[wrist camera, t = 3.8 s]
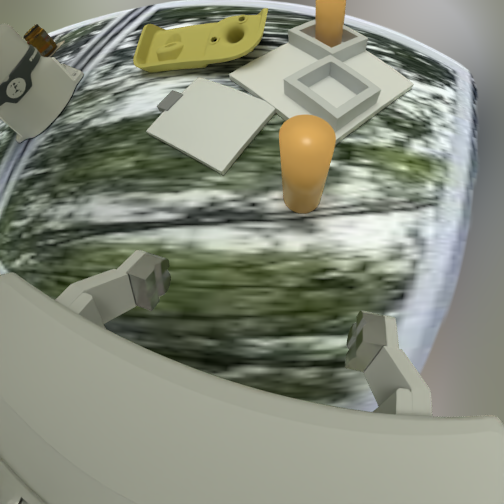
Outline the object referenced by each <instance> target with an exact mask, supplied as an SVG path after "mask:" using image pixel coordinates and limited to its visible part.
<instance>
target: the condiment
mask: <svg viewBox="0 0 504 504" xmlns="http://www.w3.org/2000/svg"><path fill="white" fill-rule="evenodd" d="M24 38H25V40H26V41H27V44H28V45H32V46H33V47H35V48H36V49H37V50H38V51H39V52H40V54H41V56H43V57H51V56H52V55H53V54H54V53H55V51H56V50H57V49H58V48H59V47H60V46H61V45H62V44H63V42H64V41H63V42H60V43H58V44H55V42H54V41H53V40H52V39H51V37H50V36H49V35H48V34H47V33H46V31H45V30H44V29H42V28H40V27H39V26H38V25H35V26H33V27H32V28H31V29H30V30H29V31H28V32H27V33H26V34H25V35H24Z"/></svg>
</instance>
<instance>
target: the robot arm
mask: <svg viewBox="0 0 504 504" xmlns="http://www.w3.org/2000/svg"><path fill="white" fill-rule="evenodd" d="M83 75H84V73H83V72H81V71H80V70H77V69H75V68H72V67H70V66H67V65H65V64H60V63H59V62H58V61H57V60H56V59H55V58H54V57H52V58H51V57H43V56H41V54H40V52H39V51H38V50H37V49H36V48H35V47H33V46H32V45H28V44H27V43H26V42H25V41H24V40H23V39H22V37H21V36H20V35H19V34H18V33H17V32H16V31H15V30H14V29H13V27H12V26H10V25H8V24H0V119H1V120H3V121H4V122H5V123H6V124H7V125H8V126H9V127H11V128H12V129H13V130H14V131H15V132H16V133H17V136H16V141H17V142H18V143H20V142H22V141H24V140H25V139H27V138H33V137H35V136H37V135H38V134H40V133H41V132H42V131H44V130H45V129H46V128H47V127H48V126H49V125H50V124H51V123H52V122H53V121H54V120H55V119H56V117H57V116H58V115H59V114H60V113H61V111H62V110H63V109H64V107H65V106H66V104H67V103H68V101H69V99H70V98H71V96H72V94H73V92H74V89H75V87H76V85H77V84H78V82H79V81H80V80H81V78H82V77H83ZM168 267H169V260H168V259H166V258H163V257H160V256H157V255H154V254H151V253H147V252H145V251H142V250H136V251H135V252H134V253H133V254H132V255H131V256H130V257H129V258H128V259H127V260H126V261H125V262H124V263H123V264H122V265H121V266H120V267H119V268H118V269H117V270H116V269H112V270H109V271H106V272H103V273H101V274H98V275H95V276H92V277H89V278H86V279H84V280H81V281H78V282H75V283H73V284H71V285H70V286H69V287H68V288H67V289H66V290H65V291H64V292H63V293H62V294H61V295H60V296H59V297H58V298H57V299H56V300H54V299H52V298H51V297H49V296H48V295H46V294H44V293H43V292H41V291H40V290H38V289H37V288H35V287H34V286H32V285H31V284H30V283H28V282H27V281H25V280H24V279H22V278H21V277H20V276H18V275H17V274H15V273H12V272H10V273H6V274H2V275H0V504H504V426H503V424H502V422H501V421H500V420H499V419H498V417H497V416H494V415H486V416H485V415H484V416H466V417H432V405H431V391H430V389H429V388H428V386H427V385H426V383H425V382H424V380H423V379H422V377H421V376H420V374H419V373H418V371H417V370H416V369H415V367H414V366H413V364H412V363H411V361H410V360H409V359H408V357H407V356H406V354H405V353H404V352H403V350H402V349H399V344H398V335H397V326H396V319H395V318H394V317H390V316H385V315H379V314H375V313H370V312H366V311H360V312H359V313H358V315H357V321H356V323H354V324H353V325H352V327H351V329H350V331H349V334H348V338H347V347H348V349H349V350H348V352H347V354H346V361H345V368H348V369H352V370H357V371H361V372H364V375H365V377H366V380H367V382H368V384H369V386H370V388H371V390H372V393H373V395H374V397H375V399H376V402H377V404H378V406H379V407H378V408H377V409H376V410H374V411H373V412H367V411H360V410H353V409H346V408H340V407H334V406H329V405H324V404H318V403H313V402H309V401H304V400H299V399H295V398H291V397H287V396H282V395H278V394H275V393H271V392H267V391H263V390H260V389H256V388H253V387H249V386H246V385H242V384H239V383H236V382H233V381H230V380H226V379H223V378H220V377H217V376H214V375H212V374H209V373H206V372H203V371H200V370H198V369H195V368H192V367H190V366H187V365H184V364H182V363H179V362H177V361H174V360H172V359H169V358H167V357H164V356H162V355H160V354H157V353H155V352H153V351H150V350H148V349H146V348H144V347H141V346H139V345H137V344H135V343H133V342H131V341H129V340H126V339H124V338H122V337H120V336H118V335H116V334H114V333H112V332H110V331H108V330H106V328H105V326H104V323H106V322H108V321H110V320H112V319H114V318H115V317H117V316H119V315H121V314H123V313H125V312H126V311H128V310H130V309H132V308H134V307H136V305H137V306H139V307H142V308H145V309H148V310H150V311H152V310H153V309H154V308H155V306H156V305H157V304H158V303H159V301H160V300H159V296H162V295H164V294H165V293H166V292H167V290H168V288H169V286H170V281H171V276H170V273H169V272H168V270H167V269H168Z"/></svg>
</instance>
